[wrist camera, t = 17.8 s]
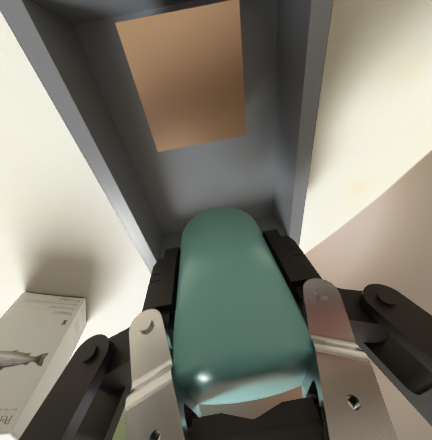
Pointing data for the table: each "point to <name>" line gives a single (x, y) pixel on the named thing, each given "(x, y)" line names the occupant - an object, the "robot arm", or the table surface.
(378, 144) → the table surface
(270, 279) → the cylinder
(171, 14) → the cube
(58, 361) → the supplement box
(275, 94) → the tote
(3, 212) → the table surface
